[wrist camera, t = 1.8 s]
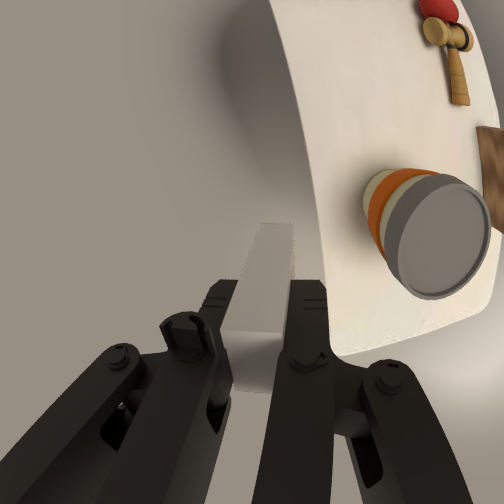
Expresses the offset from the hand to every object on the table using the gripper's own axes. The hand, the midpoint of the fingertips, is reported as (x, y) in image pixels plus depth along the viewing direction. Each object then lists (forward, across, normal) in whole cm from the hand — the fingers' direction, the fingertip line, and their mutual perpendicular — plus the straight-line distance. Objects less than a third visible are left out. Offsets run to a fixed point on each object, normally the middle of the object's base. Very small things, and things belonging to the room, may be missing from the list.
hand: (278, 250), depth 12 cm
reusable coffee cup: (+25, +14, -6) cm, 29 cm away
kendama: (+28, +24, +18) cm, 41 cm away
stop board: (+28, +32, -1) cm, 42 cm away
